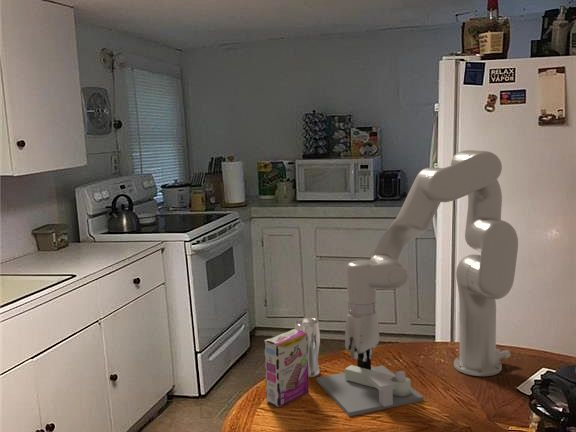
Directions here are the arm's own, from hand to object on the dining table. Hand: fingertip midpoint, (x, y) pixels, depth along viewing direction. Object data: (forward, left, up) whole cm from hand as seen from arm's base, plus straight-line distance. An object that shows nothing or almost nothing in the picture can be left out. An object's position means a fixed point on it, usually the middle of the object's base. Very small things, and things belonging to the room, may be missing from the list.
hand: (364, 373), depth 151 cm
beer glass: (+12, -11, -2) cm, 16 cm away
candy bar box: (+22, +1, -2) cm, 22 cm away
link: (0, +7, -1) cm, 7 cm away
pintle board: (+2, +6, -2) cm, 7 cm away
